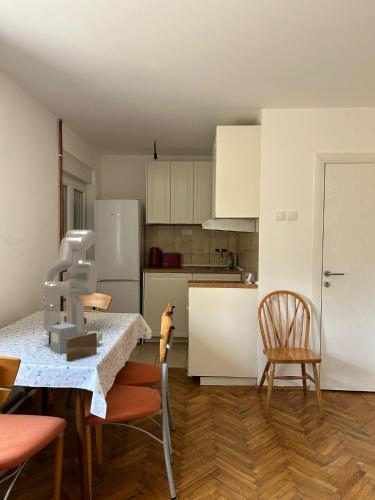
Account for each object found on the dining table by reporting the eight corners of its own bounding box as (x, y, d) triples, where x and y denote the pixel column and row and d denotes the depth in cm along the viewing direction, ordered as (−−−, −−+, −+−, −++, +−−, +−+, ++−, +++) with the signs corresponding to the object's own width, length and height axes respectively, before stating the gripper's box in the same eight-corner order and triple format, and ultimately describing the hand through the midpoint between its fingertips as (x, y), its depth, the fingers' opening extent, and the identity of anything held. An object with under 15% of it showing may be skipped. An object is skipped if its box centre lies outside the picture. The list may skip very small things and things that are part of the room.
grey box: (50, 350, 177) (50, 326, 177) (67, 346, 184) (67, 323, 184) (59, 354, 172) (59, 329, 171) (77, 350, 178) (77, 325, 178)
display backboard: (66, 360, 162) (65, 338, 162) (94, 353, 173) (94, 332, 173) (67, 361, 161) (67, 339, 161) (96, 353, 172) (96, 332, 172)
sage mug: (84, 346, 185) (84, 332, 185) (98, 342, 192) (98, 329, 191) (91, 348, 181) (91, 334, 181) (105, 344, 188) (105, 331, 187)
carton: (75, 320, 248) (75, 313, 248) (86, 324, 237) (86, 317, 237) (63, 321, 243) (63, 315, 242) (74, 326, 231) (74, 319, 231)
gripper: (38, 307, 187) (38, 342, 187) (52, 310, 177) (52, 348, 177) (52, 305, 193) (52, 339, 193) (66, 308, 183) (67, 345, 183)
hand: (52, 343), depth 185 cm, fingers closed
